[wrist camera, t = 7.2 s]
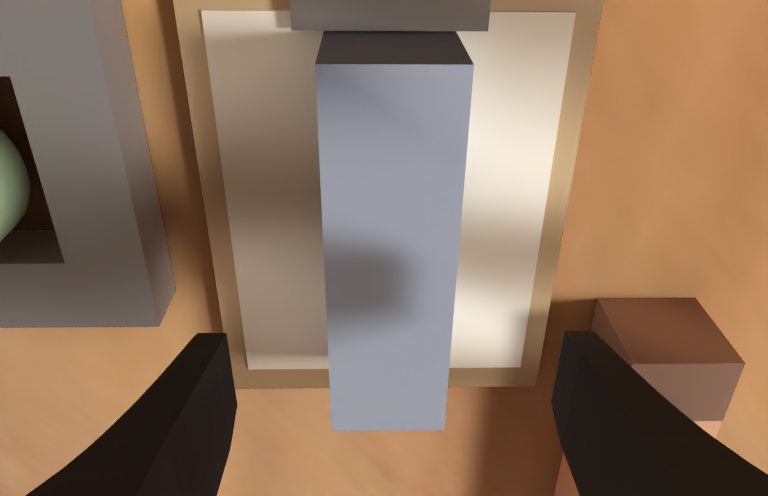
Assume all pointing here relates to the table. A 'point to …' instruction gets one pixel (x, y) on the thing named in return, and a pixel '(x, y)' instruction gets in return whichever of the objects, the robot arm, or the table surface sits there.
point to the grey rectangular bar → (391, 220)
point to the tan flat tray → (302, 172)
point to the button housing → (82, 173)
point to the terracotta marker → (669, 358)
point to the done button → (12, 186)
